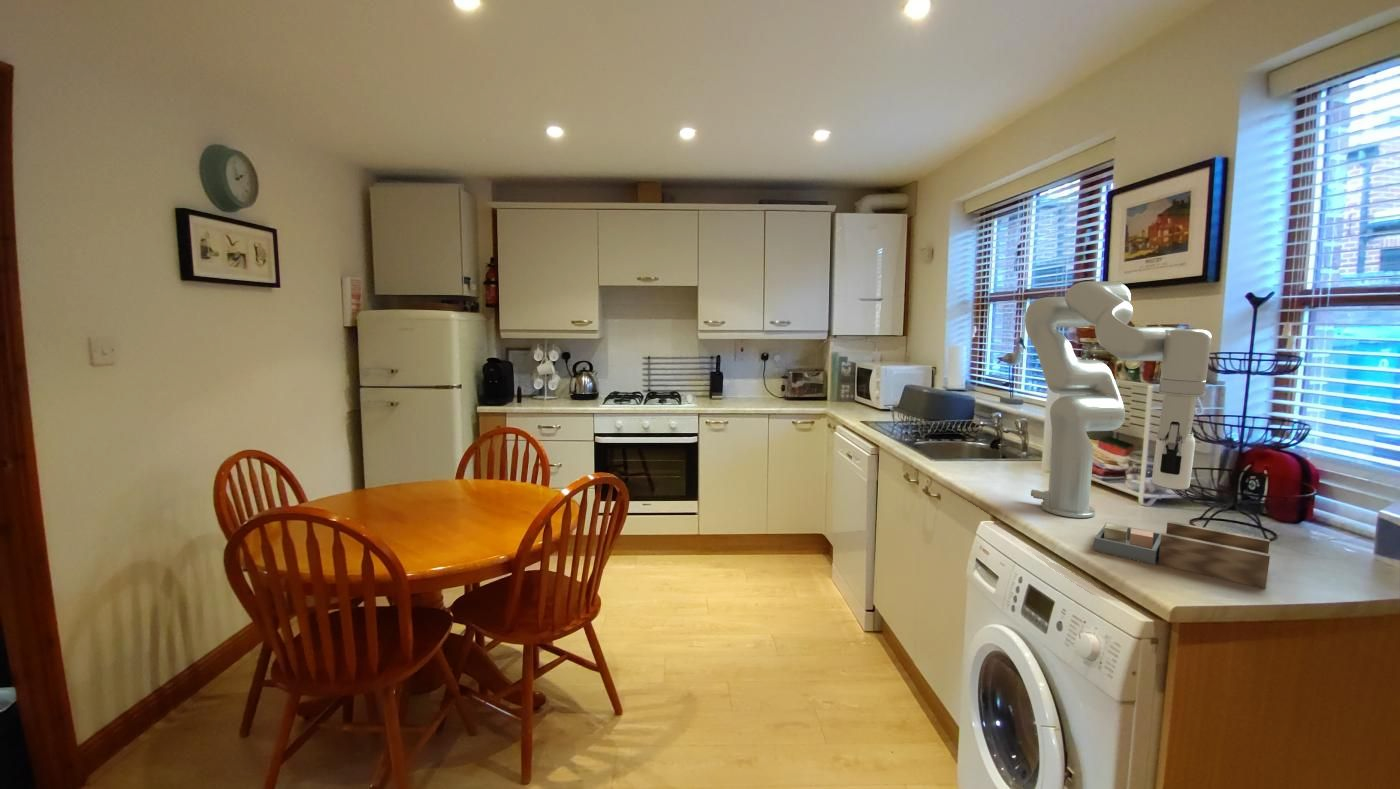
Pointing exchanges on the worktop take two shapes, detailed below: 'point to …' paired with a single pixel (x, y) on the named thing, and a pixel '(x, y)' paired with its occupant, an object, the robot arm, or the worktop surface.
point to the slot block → (1215, 553)
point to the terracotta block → (1141, 538)
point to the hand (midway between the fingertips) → (1171, 469)
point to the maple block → (1116, 533)
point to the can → (1184, 476)
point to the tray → (1128, 547)
